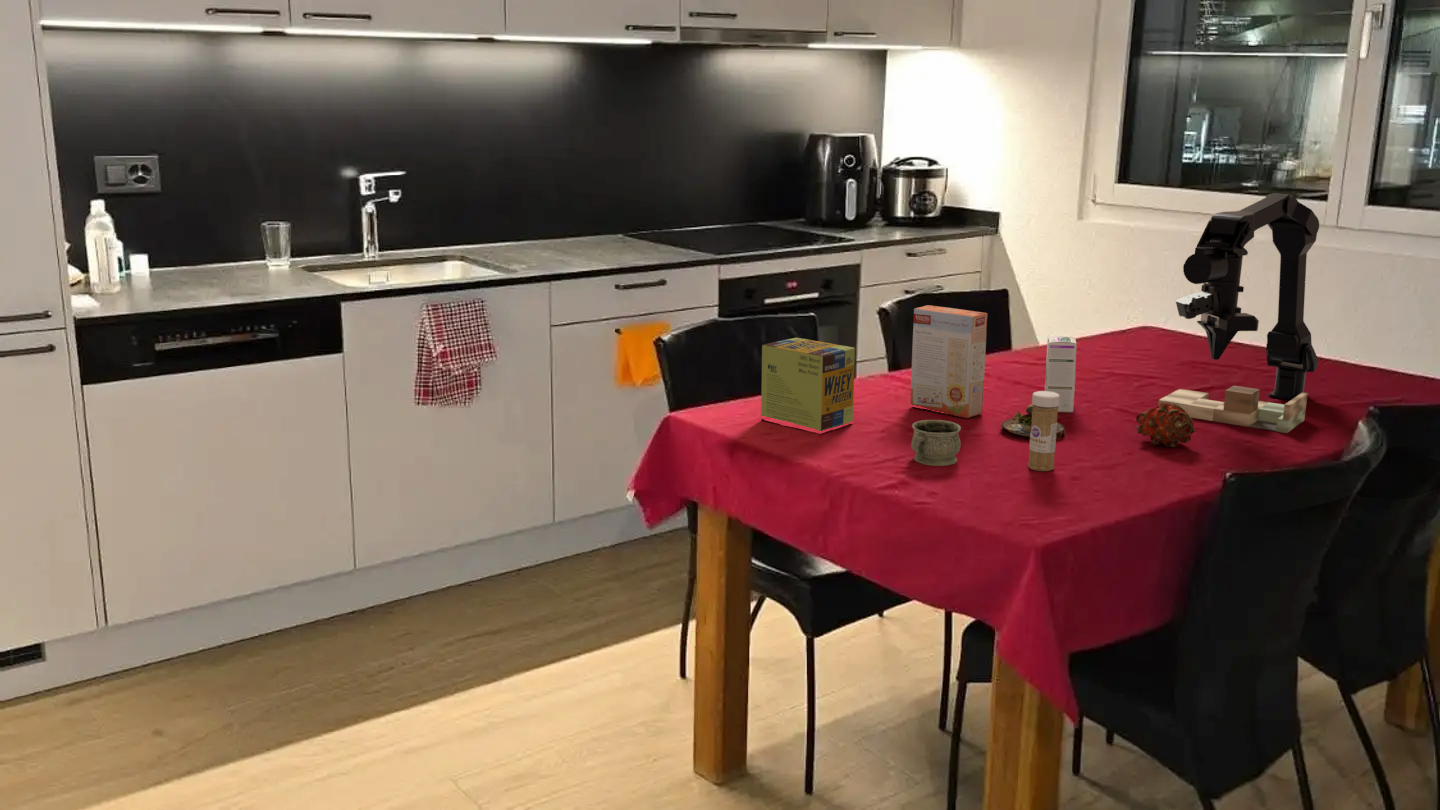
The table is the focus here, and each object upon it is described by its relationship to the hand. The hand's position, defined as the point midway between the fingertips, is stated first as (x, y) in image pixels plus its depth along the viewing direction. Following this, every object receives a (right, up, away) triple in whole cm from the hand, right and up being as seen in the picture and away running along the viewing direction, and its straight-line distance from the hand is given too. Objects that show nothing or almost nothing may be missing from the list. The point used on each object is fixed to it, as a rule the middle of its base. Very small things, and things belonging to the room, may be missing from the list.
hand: (1215, 359), depth 250 cm
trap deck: (+6, -11, +7) cm, 14 cm away
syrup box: (-27, -10, +13) cm, 32 cm away
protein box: (-79, -13, +2) cm, 81 cm away
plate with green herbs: (-37, -15, -5) cm, 40 cm away
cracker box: (-51, -10, +11) cm, 53 cm away
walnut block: (+6, -10, +2) cm, 12 cm away
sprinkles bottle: (-41, -20, -26) cm, 53 cm away
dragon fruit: (-15, -16, -12) cm, 25 cm away
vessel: (-58, -19, -21) cm, 65 cm away
